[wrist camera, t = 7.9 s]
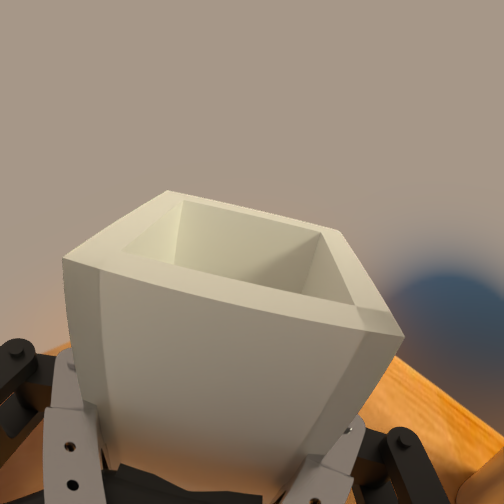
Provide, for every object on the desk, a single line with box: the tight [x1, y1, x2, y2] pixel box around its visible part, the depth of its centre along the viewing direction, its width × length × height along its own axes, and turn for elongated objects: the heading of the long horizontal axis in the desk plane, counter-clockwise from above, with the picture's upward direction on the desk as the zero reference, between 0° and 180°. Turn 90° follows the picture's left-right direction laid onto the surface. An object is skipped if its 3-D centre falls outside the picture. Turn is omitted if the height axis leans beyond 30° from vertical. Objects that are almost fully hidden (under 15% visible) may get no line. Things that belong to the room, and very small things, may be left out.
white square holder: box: [62, 190, 405, 504], centre depth 9 cm, size 6×6×11 cm
